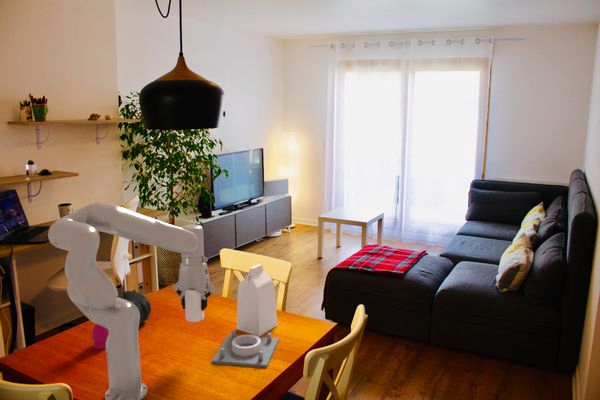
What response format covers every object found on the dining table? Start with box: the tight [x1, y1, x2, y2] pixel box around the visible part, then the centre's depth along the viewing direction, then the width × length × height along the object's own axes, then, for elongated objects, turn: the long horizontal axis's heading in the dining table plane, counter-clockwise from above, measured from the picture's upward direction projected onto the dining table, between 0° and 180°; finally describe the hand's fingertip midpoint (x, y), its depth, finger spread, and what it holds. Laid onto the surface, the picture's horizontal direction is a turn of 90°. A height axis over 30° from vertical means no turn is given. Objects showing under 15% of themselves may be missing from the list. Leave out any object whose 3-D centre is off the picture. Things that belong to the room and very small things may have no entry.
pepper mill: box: [91, 323, 109, 350], centre depth 188 cm, size 7×7×20 cm
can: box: [184, 289, 205, 323], centre depth 179 cm, size 6×6×12 cm
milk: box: [236, 263, 278, 337], centre depth 202 cm, size 12×12×26 cm
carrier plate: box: [211, 329, 280, 368], centre depth 185 cm, size 20×20×4 cm
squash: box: [118, 290, 152, 326], centre depth 208 cm, size 14×15×15 cm
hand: (194, 307), depth 179 cm, fingers closed on can, 6 cm apart
